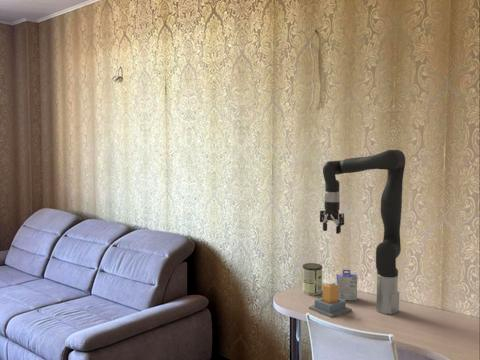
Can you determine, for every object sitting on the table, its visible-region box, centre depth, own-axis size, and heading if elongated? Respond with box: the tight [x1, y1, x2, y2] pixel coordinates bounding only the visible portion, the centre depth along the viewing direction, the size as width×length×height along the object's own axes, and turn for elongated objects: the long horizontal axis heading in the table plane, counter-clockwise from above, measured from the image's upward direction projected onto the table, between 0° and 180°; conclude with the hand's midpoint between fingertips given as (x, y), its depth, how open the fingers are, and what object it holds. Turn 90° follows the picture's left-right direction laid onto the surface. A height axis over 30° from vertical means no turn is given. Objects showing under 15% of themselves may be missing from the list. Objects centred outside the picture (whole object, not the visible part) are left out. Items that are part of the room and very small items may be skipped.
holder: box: [308, 297, 352, 318], centre depth 216 cm, size 14×14×4 cm
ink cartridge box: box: [336, 269, 358, 301], centre depth 231 cm, size 10×6×14 cm, turn 89°
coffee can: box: [302, 262, 323, 296], centre depth 241 cm, size 10×10×14 cm
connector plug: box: [321, 281, 338, 304], centre depth 216 cm, size 4×6×12 cm
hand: (331, 232), depth 233 cm, fingers open, 8 cm apart
